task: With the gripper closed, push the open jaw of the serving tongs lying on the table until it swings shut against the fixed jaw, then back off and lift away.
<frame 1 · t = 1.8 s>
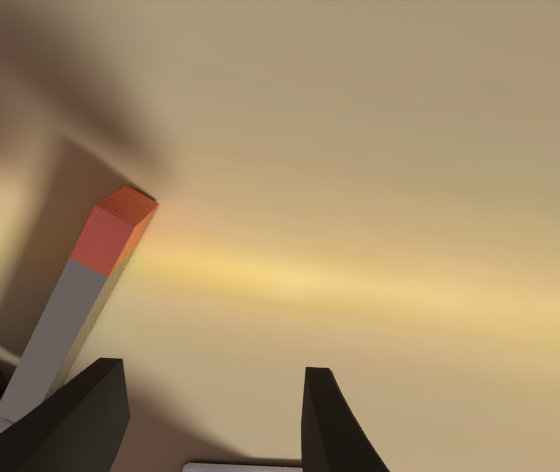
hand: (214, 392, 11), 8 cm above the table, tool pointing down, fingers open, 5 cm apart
tongs jaw: (75, 310, 18), point 2 cm above the table, hinge at 30.0°
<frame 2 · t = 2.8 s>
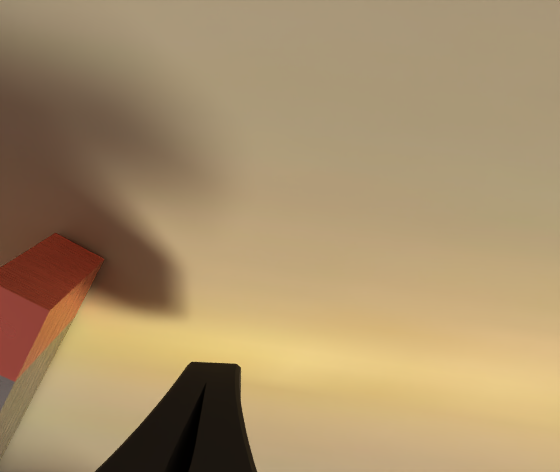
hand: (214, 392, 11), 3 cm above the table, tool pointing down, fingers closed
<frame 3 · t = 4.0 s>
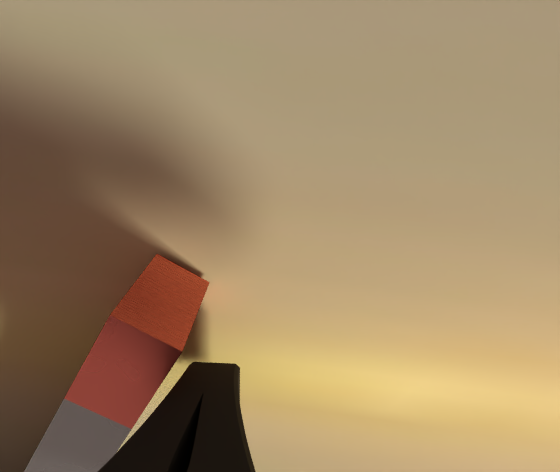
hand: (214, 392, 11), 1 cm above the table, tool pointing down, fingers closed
tongs jaw: (75, 449, 11), point 2 cm above the table, hinge at 30.0°, touching gripper
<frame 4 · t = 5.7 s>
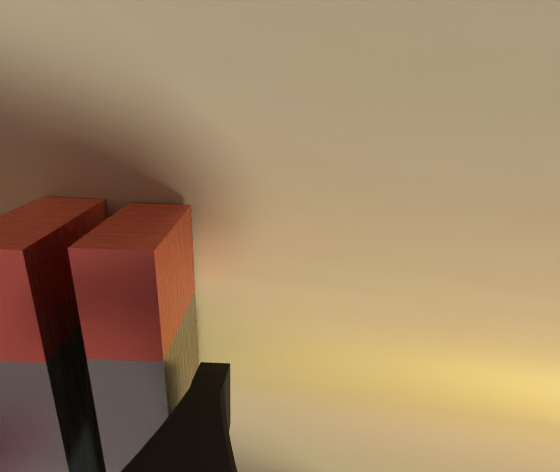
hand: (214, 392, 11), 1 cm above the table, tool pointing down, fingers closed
tongs jaw: (159, 426, 11), point 2 cm above the table, hinge at -0.4°, touching gripper
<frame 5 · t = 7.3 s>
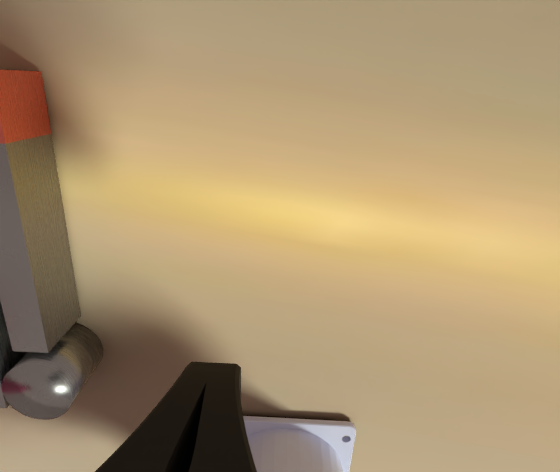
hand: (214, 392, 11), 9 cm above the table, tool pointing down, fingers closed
tongs jaw: (26, 217, 17), point 2 cm above the table, hinge at -0.4°
tongs body: (73, 347, 21), on the table
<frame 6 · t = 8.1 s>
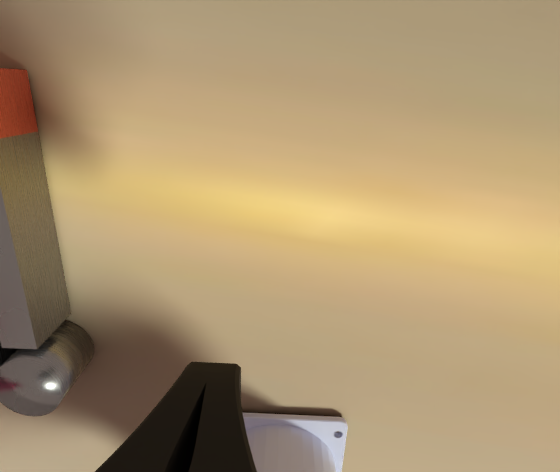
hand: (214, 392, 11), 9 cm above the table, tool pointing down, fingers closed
tongs jaw: (13, 214, 17), point 2 cm above the table, hinge at -0.4°
tongs body: (64, 345, 22), on the table
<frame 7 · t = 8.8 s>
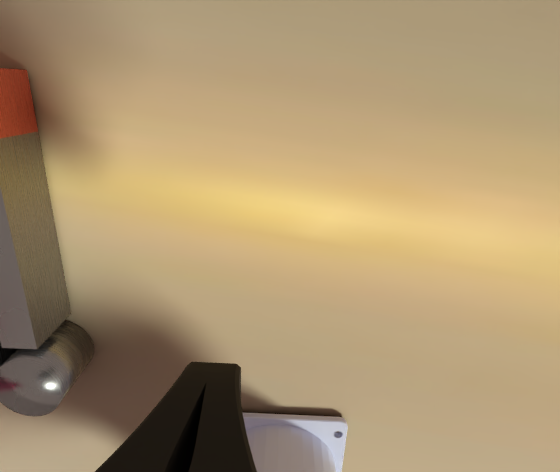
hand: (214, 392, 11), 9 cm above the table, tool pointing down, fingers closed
tongs jaw: (13, 214, 17), point 2 cm above the table, hinge at -0.4°
tongs body: (64, 345, 22), on the table
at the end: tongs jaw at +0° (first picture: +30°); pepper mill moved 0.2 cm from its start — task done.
